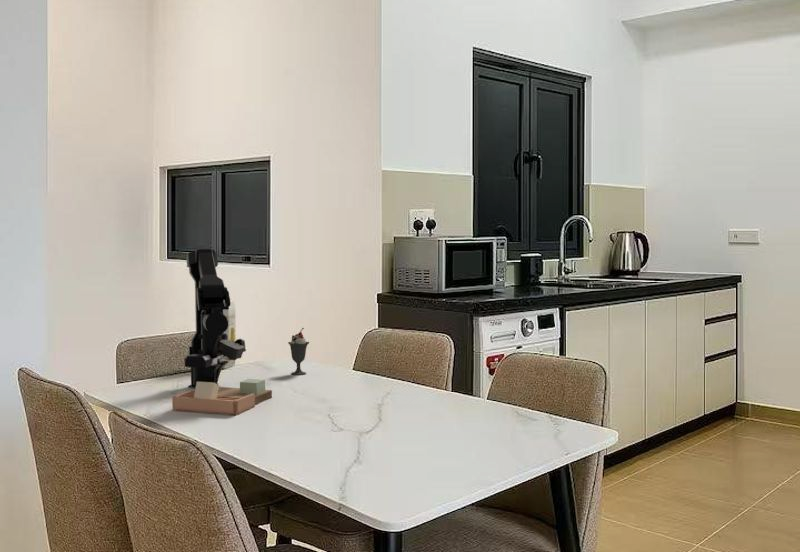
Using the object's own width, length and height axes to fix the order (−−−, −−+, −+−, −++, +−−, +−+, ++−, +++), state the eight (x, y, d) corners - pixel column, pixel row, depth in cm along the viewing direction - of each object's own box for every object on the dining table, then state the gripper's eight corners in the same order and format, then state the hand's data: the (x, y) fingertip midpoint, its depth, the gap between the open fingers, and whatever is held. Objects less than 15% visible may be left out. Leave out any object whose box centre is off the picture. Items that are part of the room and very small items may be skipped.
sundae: (307, 375, 249) (307, 328, 248) (286, 375, 249) (286, 328, 249) (310, 372, 256) (310, 326, 255) (289, 371, 256) (289, 326, 255)
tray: (172, 410, 200) (172, 396, 200) (193, 402, 209) (193, 389, 209) (236, 415, 195) (236, 401, 194) (254, 406, 204) (254, 393, 204)
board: (197, 402, 209) (196, 395, 209) (219, 393, 221) (219, 386, 220) (251, 406, 204) (251, 399, 204) (271, 397, 216) (271, 390, 216)
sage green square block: (239, 393, 212) (239, 382, 212) (248, 389, 217) (248, 378, 217) (256, 394, 211) (256, 383, 210) (265, 390, 215) (265, 379, 215)
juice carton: (226, 369, 260) (226, 297, 258) (204, 368, 261) (203, 296, 260) (238, 365, 269) (237, 295, 268) (216, 364, 270) (216, 294, 269)
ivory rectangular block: (198, 403, 206) (193, 400, 204) (202, 384, 208) (196, 381, 205) (215, 404, 205) (210, 401, 202) (219, 385, 207) (214, 382, 204)
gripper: (221, 336, 197) (222, 397, 198) (256, 327, 215) (256, 384, 216) (182, 334, 200) (183, 395, 201) (219, 325, 218) (220, 381, 219)
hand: (213, 388), depth 209 cm, fingers closed
